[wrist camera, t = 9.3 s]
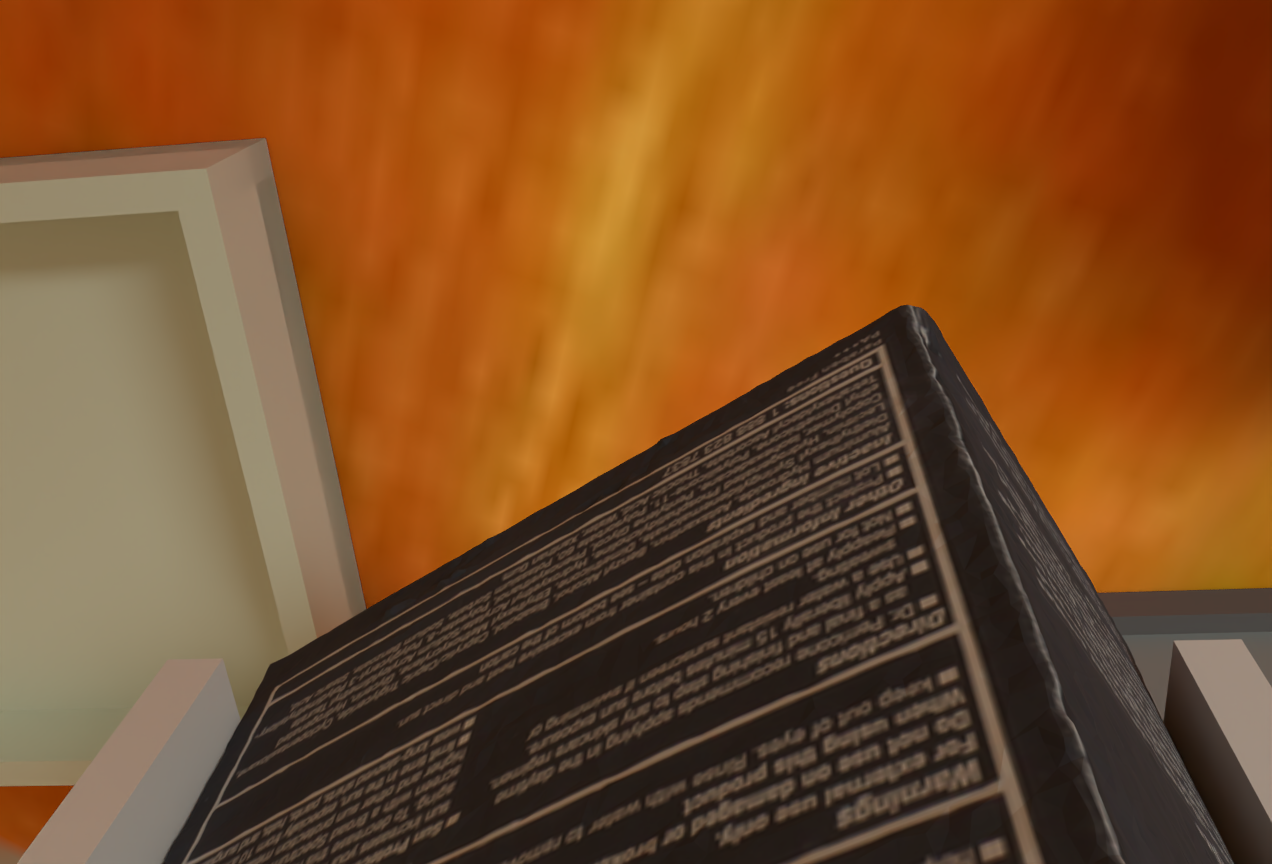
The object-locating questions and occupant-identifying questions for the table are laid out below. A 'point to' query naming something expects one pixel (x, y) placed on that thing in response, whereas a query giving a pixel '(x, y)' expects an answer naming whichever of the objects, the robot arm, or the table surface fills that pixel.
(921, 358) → the small box
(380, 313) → the table surface
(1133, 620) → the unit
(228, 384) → the tray
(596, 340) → the table surface
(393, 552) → the table surface
